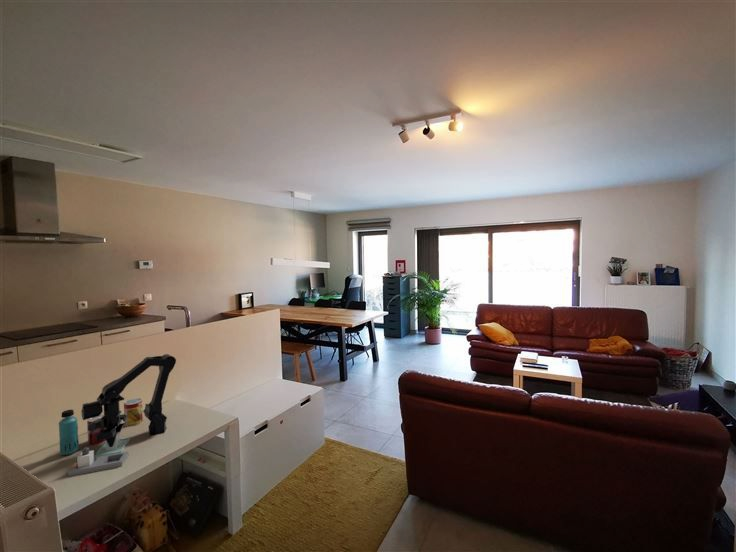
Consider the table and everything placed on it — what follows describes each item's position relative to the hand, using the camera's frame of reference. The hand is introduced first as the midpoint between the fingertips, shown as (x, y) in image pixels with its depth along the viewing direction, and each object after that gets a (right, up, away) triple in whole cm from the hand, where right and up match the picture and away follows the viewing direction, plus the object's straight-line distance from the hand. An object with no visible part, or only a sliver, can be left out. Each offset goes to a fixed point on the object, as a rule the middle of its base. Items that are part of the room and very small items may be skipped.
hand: (113, 444), depth 149 cm
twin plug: (0, -2, -15) cm, 15 cm away
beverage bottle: (-17, -3, -4) cm, 17 cm away
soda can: (-12, -2, +5) cm, 13 cm away
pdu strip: (+5, -3, -13) cm, 14 cm away
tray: (0, -2, 0) cm, 2 cm away
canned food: (-8, -1, +24) cm, 25 cm away
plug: (0, -1, 0) cm, 1 cm away
